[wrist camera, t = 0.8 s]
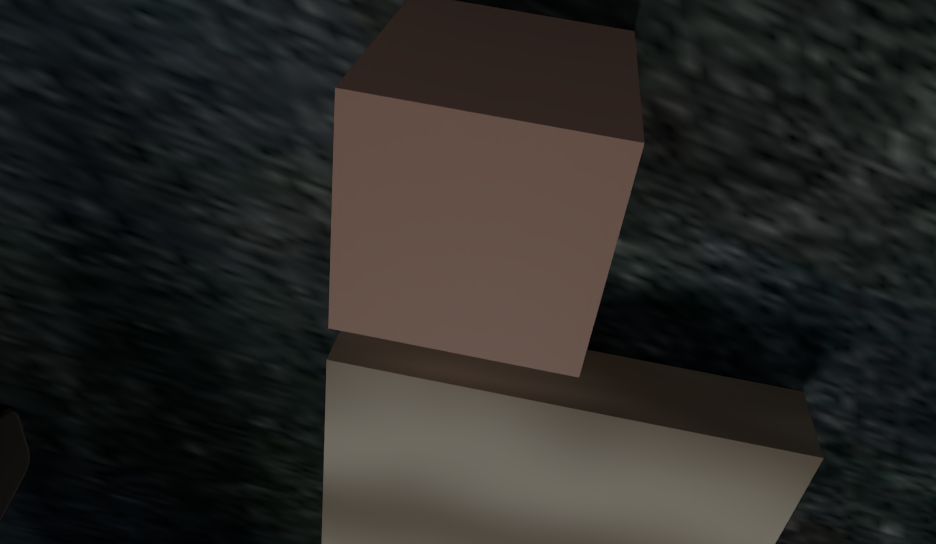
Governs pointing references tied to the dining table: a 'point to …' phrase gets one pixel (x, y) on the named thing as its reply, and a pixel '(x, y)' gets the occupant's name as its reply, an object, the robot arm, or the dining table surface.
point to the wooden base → (554, 451)
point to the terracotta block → (482, 181)
